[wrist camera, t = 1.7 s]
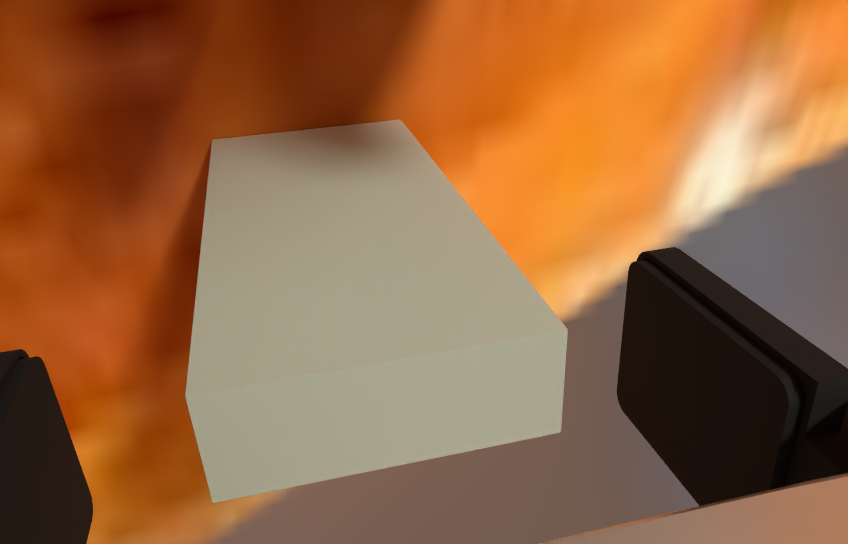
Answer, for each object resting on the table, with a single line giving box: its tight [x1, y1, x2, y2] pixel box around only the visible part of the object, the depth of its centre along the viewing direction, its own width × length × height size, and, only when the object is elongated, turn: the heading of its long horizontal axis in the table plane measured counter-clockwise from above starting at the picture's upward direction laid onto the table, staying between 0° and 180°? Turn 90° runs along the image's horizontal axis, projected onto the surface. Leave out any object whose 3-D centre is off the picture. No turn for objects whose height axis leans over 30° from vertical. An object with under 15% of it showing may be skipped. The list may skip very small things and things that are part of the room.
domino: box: [185, 119, 568, 503], centre depth 14 cm, size 2×5×11 cm, turn 93°
